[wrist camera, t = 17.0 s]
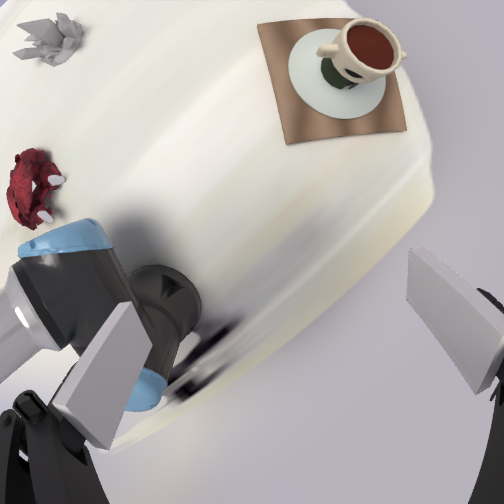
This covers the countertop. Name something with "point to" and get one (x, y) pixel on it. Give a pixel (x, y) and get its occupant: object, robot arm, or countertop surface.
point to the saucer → (319, 90)
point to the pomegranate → (32, 188)
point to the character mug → (360, 54)
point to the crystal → (51, 39)
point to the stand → (297, 111)
